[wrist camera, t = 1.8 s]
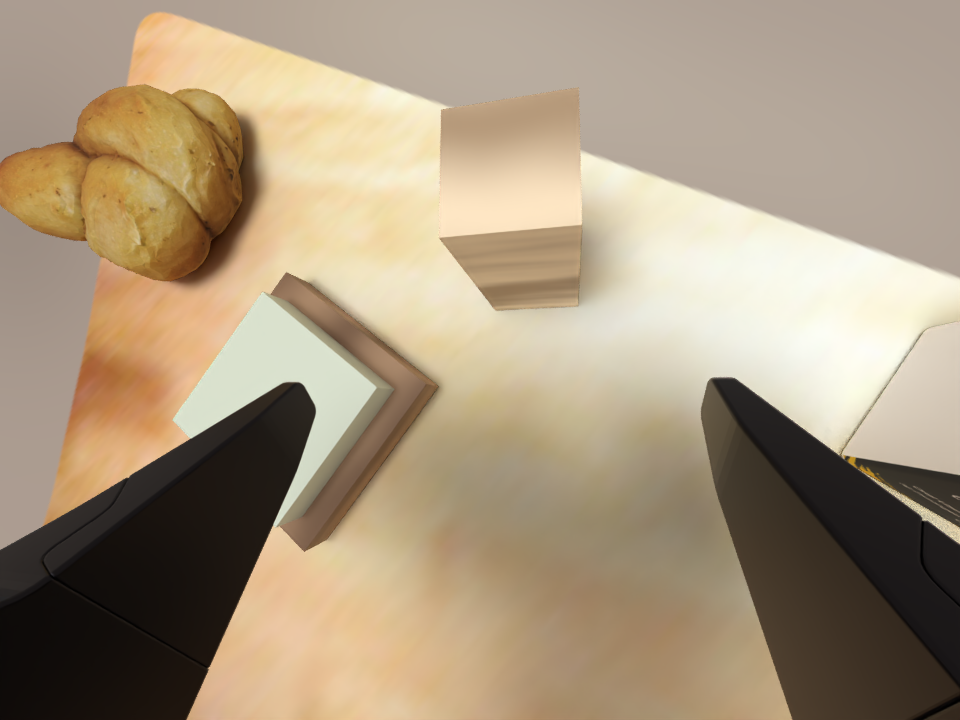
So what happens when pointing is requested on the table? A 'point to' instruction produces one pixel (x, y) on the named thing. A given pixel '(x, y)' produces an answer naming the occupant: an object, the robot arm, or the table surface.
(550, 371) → the table surface
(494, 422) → the table surface
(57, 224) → the bread roll
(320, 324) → the walnut base slab
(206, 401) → the sage slab
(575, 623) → the table surface
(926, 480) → the medicine bottle
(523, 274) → the oak block
